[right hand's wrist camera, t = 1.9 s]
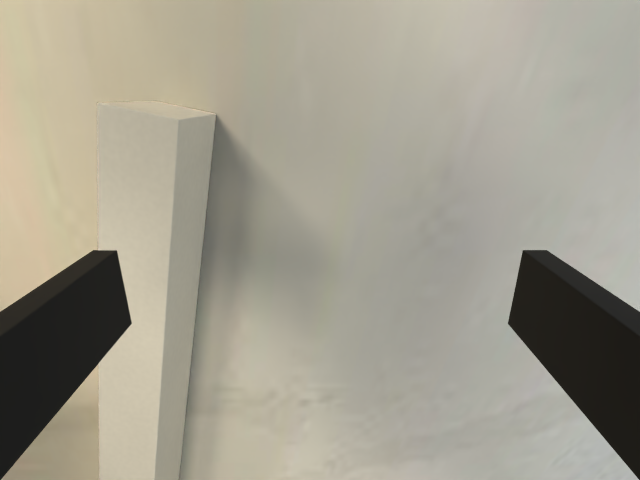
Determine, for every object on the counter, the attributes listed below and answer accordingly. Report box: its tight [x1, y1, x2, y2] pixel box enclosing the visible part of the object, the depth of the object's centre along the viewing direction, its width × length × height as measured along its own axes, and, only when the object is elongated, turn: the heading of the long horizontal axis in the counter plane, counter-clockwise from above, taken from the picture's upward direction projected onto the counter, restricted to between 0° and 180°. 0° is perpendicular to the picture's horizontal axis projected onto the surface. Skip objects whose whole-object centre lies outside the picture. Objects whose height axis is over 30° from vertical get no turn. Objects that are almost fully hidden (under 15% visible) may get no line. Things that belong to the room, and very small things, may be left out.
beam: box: [97, 101, 216, 480], centre depth 35 cm, size 63×4×8 cm, turn 168°
